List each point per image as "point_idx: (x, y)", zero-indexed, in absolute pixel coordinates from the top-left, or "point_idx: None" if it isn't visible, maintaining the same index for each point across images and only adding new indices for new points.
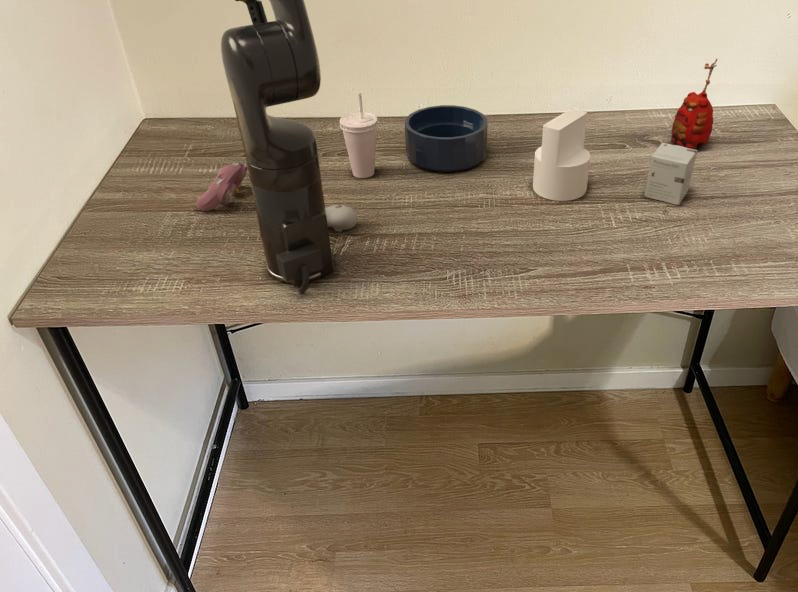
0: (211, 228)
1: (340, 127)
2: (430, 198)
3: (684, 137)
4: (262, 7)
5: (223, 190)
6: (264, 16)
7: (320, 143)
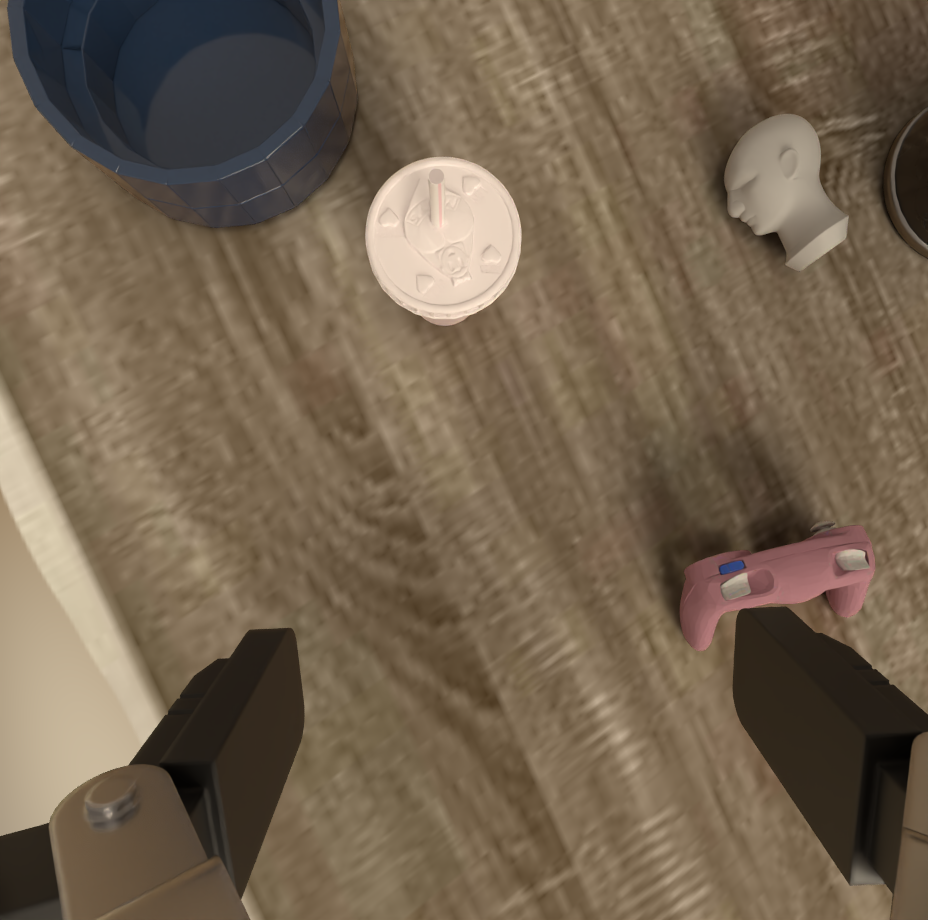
0: (897, 514)
1: (500, 293)
2: (505, 26)
3: None
4: (842, 689)
5: (863, 530)
6: (803, 643)
7: (313, 534)
